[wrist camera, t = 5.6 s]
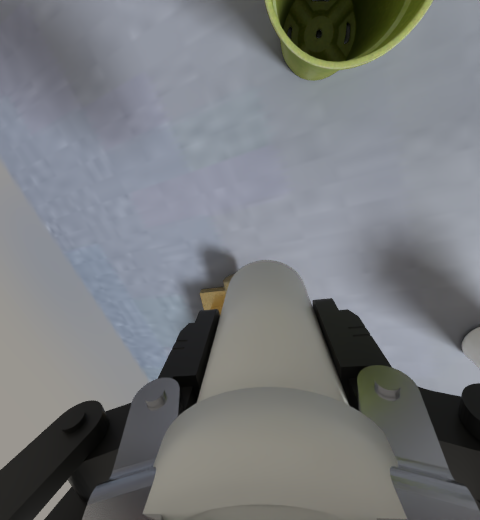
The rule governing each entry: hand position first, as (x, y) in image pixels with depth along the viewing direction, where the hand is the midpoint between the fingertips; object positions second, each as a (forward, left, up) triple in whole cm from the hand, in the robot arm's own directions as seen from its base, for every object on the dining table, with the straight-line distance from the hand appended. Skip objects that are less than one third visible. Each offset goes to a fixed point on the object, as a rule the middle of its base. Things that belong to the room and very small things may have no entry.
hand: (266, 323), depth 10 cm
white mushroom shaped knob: (0, 0, -2) cm, 2 cm away
